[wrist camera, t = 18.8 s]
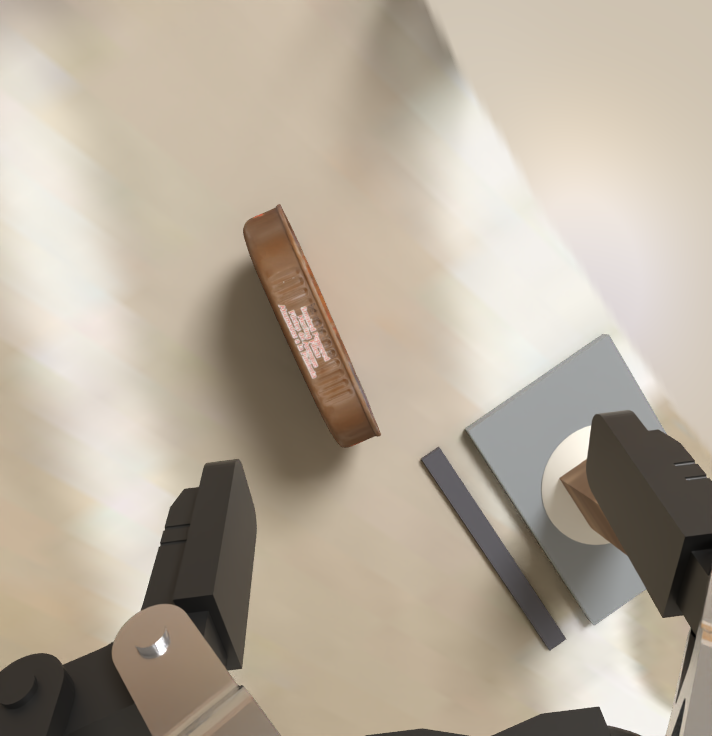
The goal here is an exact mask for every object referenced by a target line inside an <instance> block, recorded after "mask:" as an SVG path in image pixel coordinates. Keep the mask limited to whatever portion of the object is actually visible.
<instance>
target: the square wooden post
mask: <svg viewBox="0 0 712 736" xmlns="http://www.w3.org/2000/svg"><path fill="white" fill-rule="evenodd" d="M586 461H587V459H586V460H584V461H583V462H581V463H580V464H579V465H577V466H576V467H574V468H573V469H571V470H570V471H569V472H567V473H566V474H564V475H563V476H561V477H560V478H559V479H560V480H561V482H562V483H563V485H564V487H565V488H566V490H567V491H568V493H569V494H570V496H571V498H572V499H573V501H574V502H575V504H576V505H577V507H578V509H579V510H580V512H581V513H582V515H583V516H584V518H585V520H586V521H587V523H588V524H589V526H590V527H591V528H592V529H593V530H594V531H595V532H597V533H598V534H599V535H601V536H602V537H603V538H605V539H606V540H607V541H609V542H610V543H611V544H613V545H614V546H615V547H616V548H618V549H619V550H620V551H622V552H623V553H624V554H626V552H625V550H624V549H623V547H622V545H621V543H620V541H619V540H618V538H617V536H616V534H615V533H614V531H613V529H612V527H611V526H610V524H609V522H608V520H607V518H606V517H605V515H604V513H603V511H602V510H601V508H600V506H599V504H598V503H597V501H596V499H595V497H594V495H593V494H592V492H591V489H590V487H589V484H588V480H587V474H586ZM626 555H627V554H626Z"/></svg>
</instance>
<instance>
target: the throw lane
mask: <svg viewBox="0 0 712 736" xmlns="http://www.w3.org/2000/svg"><path fill="white" fill-rule="evenodd" d="M624 410H631V411H633V412H634V413H635V414H636V416H637V417H638V418H639V420H640V421H641V422H642V423H643V425H644V426H645V427H646V429H647V430H648V431H649V430H657V429H659V430H660V431H662V432H664V433H665V434H666V432H665V430H664V428H663V427H662V425H661V423H660V422H659V420H658V418H657V416H656V415H655V413H654V411H653V410H652V408H651V406H650V404H649V403H648V401H647V399H646V398H645V396H644V394H643V392H642V391H641V389H640V387H639V386H638V384H637V382H636V380H635V379H634V377H633V375H632V373H631V372H630V370H629V368H628V367H627V365H626V363H625V361H624V360H623V358H622V356H621V355H620V353H619V351H618V349H617V348H616V346H615V344H614V343H613V341H612V339H611V337H610V336H609V335H607V334H602V335H601V336H599V337H598V338H596V339H595V340H594V341H592V342H591V343H589V344H588V345H586V346H585V347H583V348H582V349H580V350H579V351H577V352H576V353H575V354H573V355H572V356H570V357H569V358H567V359H566V360H564V361H563V362H561V363H560V364H559V365H557V366H556V367H554V368H553V369H551V370H550V371H548V372H547V373H545V374H544V375H542V376H541V377H540V378H538V379H537V380H535V381H534V382H532V383H531V384H529V385H528V386H526V387H525V388H524V389H522V390H521V391H519V392H518V393H516V394H515V395H513V396H512V397H510V398H509V399H507V400H506V401H505V402H503V403H502V404H500V405H499V406H497V407H496V408H494V409H493V410H491V411H490V412H489V413H487V414H486V415H484V416H483V417H481V418H480V419H478V420H477V421H475V422H474V423H472V424H471V425H470V426H468V427H467V428H465V430H466V432H467V433H468V435H469V436H470V438H471V439H472V441H473V442H474V444H475V446H476V447H477V449H478V450H479V452H480V453H481V455H482V456H483V458H484V459H485V461H486V462H487V464H488V466H489V467H490V469H491V470H492V472H493V473H494V475H495V476H496V478H497V479H498V481H499V483H500V484H501V486H502V487H503V489H504V490H505V492H506V493H507V495H508V496H509V498H510V499H511V501H512V503H513V504H514V506H515V507H516V509H517V510H518V512H519V513H520V515H521V516H522V518H523V519H524V521H525V523H526V524H527V526H528V527H529V529H530V530H531V532H532V533H533V535H534V536H535V538H536V539H537V541H538V543H539V544H540V546H541V547H542V549H543V550H544V552H545V553H546V555H547V556H548V558H549V560H550V561H551V563H552V564H553V566H554V567H555V569H556V570H557V572H558V573H559V575H560V576H561V578H562V580H563V581H564V583H565V584H566V586H567V587H568V589H569V590H570V592H571V593H572V595H573V596H574V598H575V600H576V601H577V603H578V604H579V606H580V607H581V609H582V610H583V612H584V613H585V615H586V617H587V618H588V620H589V621H590V622H591V623H592V624H593V625H596V624H597V623H599V622H600V621H601V620H603V619H604V618H606V617H607V616H609V615H610V614H611V613H613V612H614V611H616V610H617V609H619V608H620V607H621V606H623V605H624V604H626V603H627V602H628V601H630V600H631V599H633V598H634V597H636V596H637V595H638V594H640V593H641V592H643V591H644V590H646V588H645V586H644V584H643V582H642V580H641V579H640V577H639V575H638V573H637V572H636V570H635V568H634V566H633V565H632V563H631V561H630V559H629V557H628V556H627V555H626V554H624V553H623V552H622V551H620V550H619V549H618V548H616V547H615V546H614V545H613V544H611V543H610V542H609V541H607V540H606V539H605V538H603V537H602V536H601V535H599V534H598V533H597V532H595V531H594V530H593V529H592V528H591V527H590V526H589V524H588V523H587V521H586V520H585V518H584V516H583V515H582V513H581V512H580V510H579V509H578V507H577V505H576V504H575V502H574V501H573V499H572V498H571V496H570V494H569V493H568V491H567V490H566V488H565V487H564V485H563V483H562V482H561V480H560V479H559V478H560V477H561V476H563V475H564V474H566V473H567V472H569V471H570V470H571V469H573V468H574V467H576V466H577V465H579V464H580V463H581V462H583V461H584V460H586V459H587V454H588V446H589V438H590V431H591V423H592V419H593V416H594V415H595V414H600V413H608V412H616V411H624ZM421 459H422V461H423V462H424V464H425V465H426V467H427V468H428V470H429V471H430V473H431V474H432V476H433V477H434V479H435V480H436V482H437V483H438V485H439V486H440V488H441V489H442V491H443V492H444V494H445V495H446V497H447V498H448V500H449V501H450V503H451V504H452V506H453V507H454V509H455V510H456V512H457V513H458V515H459V516H460V518H461V519H462V521H463V522H464V524H465V525H466V527H467V528H468V530H469V531H470V533H471V534H472V536H473V537H474V539H475V540H476V541H477V543H478V544H479V546H480V547H481V549H482V550H483V552H484V553H485V555H486V556H487V558H488V559H489V561H490V562H491V564H492V565H493V567H494V568H495V570H496V571H497V573H498V574H499V576H500V577H501V579H502V580H503V582H504V583H505V585H506V586H507V588H508V589H509V591H510V592H511V594H512V595H513V597H514V598H515V600H516V601H517V603H518V604H519V606H520V607H521V609H522V610H523V612H524V613H525V615H526V616H527V618H528V619H529V621H530V622H531V624H532V625H533V626H534V628H535V629H536V631H537V632H538V634H539V635H540V637H541V638H542V640H543V641H544V643H545V644H546V646H547V647H548V649H549V650H551V649H553V648H554V647H556V646H557V645H559V644H560V643H561V642H563V641H564V640H566V638H565V637H564V635H563V634H562V632H561V631H560V629H559V628H558V626H557V625H556V623H555V621H554V620H553V618H552V617H551V615H550V614H549V612H548V611H547V609H546V608H545V606H544V605H543V603H542V602H541V600H540V599H539V597H538V596H537V594H536V593H535V591H534V590H533V588H532V587H531V585H530V584H529V582H528V581H527V579H526V578H525V576H524V575H523V573H522V572H521V570H520V569H519V567H518V566H517V564H516V563H515V561H514V560H513V558H512V557H511V555H510V553H509V552H508V550H507V549H506V547H505V546H504V544H503V543H502V541H501V540H500V538H499V537H498V535H497V534H496V532H495V531H494V529H493V528H492V526H491V525H490V523H489V522H488V520H487V519H486V517H485V516H484V514H483V513H482V511H481V510H480V508H479V507H478V505H477V504H476V502H475V501H474V499H473V498H472V496H471V495H470V493H469V492H468V490H467V489H466V487H465V485H464V484H463V482H462V481H461V479H460V478H459V476H458V475H457V473H456V472H455V470H454V469H453V467H452V466H451V464H450V463H449V461H448V460H447V458H446V457H445V455H444V454H443V452H442V451H441V449H440V448H439V447H437V448H436V449H435V450H433V451H432V452H430V453H429V454H427V455H426V456H424V457H423V458H421Z"/></svg>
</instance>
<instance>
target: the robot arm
mask: <svg viewBox="0 0 712 736" xmlns="http://www.w3.org/2000/svg"><path fill="white" fill-rule="evenodd" d="M586 474H587V480H588V484H589V487H590V489H591V492H592V494H593V495H594V497H595V499H596V501H597V503H598V504H599V506H600V508H601V510H602V511H603V513H604V515H605V517H606V518H607V520H608V522H609V524H610V526H611V527H612V529H613V531H614V533H615V534H616V536H617V538H618V540H619V541H620V543H621V545H622V547H623V549H624V550H625V552H626V554H627V556H628V557H629V559H630V561H631V563H632V565H633V566H634V568H635V570H636V572H637V573H638V575H639V577H640V579H641V580H642V582H643V584H644V586H645V588H646V589H647V591H648V593H649V595H650V596H651V598H652V600H653V602H654V604H655V605H656V607H657V609H658V611H659V612H660V614H661V616H662V618H666V617H674V616H682V615H684V617H685V619H686V620H687V622H688V624H689V625H690V631H689V634H688V637H687V642H686V647H685V651H684V656H683V661H682V665H681V670H680V675H679V679H678V684H677V689H676V693H675V698H674V703H673V707H672V712H671V716H670V720H669V724H668V728H667V732H666V735H665V736H712V481H711V480H710V478H707V477H706V474H705V472H704V471H703V470H702V469H701V467H700V466H699V465H698V464H695V460H694V459H693V458H692V457H691V455H690V454H689V453H688V452H687V451H686V449H685V448H684V447H683V446H682V445H681V443H679V442H678V441H676V440H675V439H673V438H671V437H670V436H668V435H667V434H665V433H664V432H662V431H660V430H659V429H657V430H649V431H648V430H647V429H646V427H645V426H644V425H643V423H642V422H641V421H640V420H639V418H638V417H637V416H636V414H635V413H634V412H633V411H631V410H624V411H616V412H608V413H600V414H595V415H594V416H593V419H592V423H591V431H590V438H589V446H588V454H587V461H586ZM256 533H257V524H256V514H255V508H254V504H253V501H252V497H251V494H250V490H249V487H248V484H247V480H246V477H245V473H244V470H243V466H242V464H241V461H240V460H239V459H234V460H227V461H219V462H211V463H206V464H205V466H204V468H203V473H202V477H201V481H200V485H199V487H196V488H188V489H184V490H183V491H182V493H181V494H180V495H179V497H178V498H177V499H176V500H175V502H174V503H173V504H172V506H171V507H170V510H169V514H168V517H167V521H166V524H165V531H163V535H162V538H161V542H160V544H161V546H160V547H159V549H158V552H157V556H156V560H155V563H154V567H153V570H152V574H151V577H150V581H149V584H148V588H147V591H146V595H145V599H144V602H143V605H142V608H141V611H140V612H138V613H137V614H135V615H134V616H133V617H131V618H130V619H129V620H128V621H127V622H126V623H125V624H124V625H123V627H122V628H121V629H120V631H119V632H118V634H117V635H116V638H115V640H114V642H112V643H111V644H109V645H107V646H105V647H103V648H101V649H99V650H97V651H94V652H92V653H90V654H87V655H85V656H83V657H80V658H78V659H76V660H73V661H71V662H68V663H66V664H64V665H62V663H61V662H60V661H59V660H58V659H57V658H56V657H54V656H53V655H50V654H44V653H39V654H32V655H29V656H26V657H23V658H21V659H19V660H17V661H15V662H13V663H11V664H10V665H8V666H7V667H6V668H4V669H3V670H2V671H1V672H0V736H281V735H280V734H279V732H278V731H277V730H276V728H275V727H274V725H273V724H272V723H271V721H270V720H269V719H268V717H267V716H266V714H265V713H264V712H263V710H262V709H261V708H260V706H259V705H258V703H257V702H256V701H255V699H254V698H253V697H252V695H251V694H250V693H249V691H248V690H247V689H246V688H245V687H244V686H242V685H241V686H239V685H238V684H237V683H236V682H235V680H234V679H233V678H232V676H231V675H230V673H229V672H228V670H236V669H242V664H243V655H244V645H245V636H246V627H247V617H248V608H249V599H250V589H251V580H252V571H253V561H254V552H255V543H256ZM366 736H467V735H461V734H454V733H448V732H441V731H435V730H428V729H415V730H407V731H398V732H390V733H382V734H374V735H366ZM492 736H641V735H638V734H636V733H633V732H631V731H627V730H624V729H620V728H617V727H612V726H607V724H606V722H605V720H604V717H603V715H602V712H601V710H600V707H592V708H584V709H576V710H568V711H560V712H552V713H544V714H540V715H538V716H535V717H533V718H531V719H529V720H526V721H524V722H522V723H519V724H517V725H515V726H513V727H510V728H508V729H506V730H504V731H501V732H499V733H497V734H495V735H492Z"/></svg>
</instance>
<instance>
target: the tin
mask: <svg viewBox="0 0 712 736" xmlns="http://www.w3.org/2000/svg"><path fill="white" fill-rule="evenodd" d="M243 234H244V238H245V242H246V245H247V248H248V251H249V254H250V257H251V259H252V262H253V264H254V267H255V269H256V272H257V274H258V276H259V279H260V281H261V284H262V286H263V288H264V291H265V293H266V295H267V297H268V300H269V302H270V304H271V306H272V308H273V311H274V313H275V315H276V318H277V320H278V322H279V324H280V326H281V329H282V331H283V333H284V336H285V338H286V340H287V342H288V345H289V347H290V349H291V351H292V353H293V355H294V358H295V360H296V362H297V364H298V366H299V369H300V371H301V373H302V375H303V377H304V379H305V382H306V384H307V386H308V388H309V390H310V392H311V394H312V396H313V398H314V401H315V403H316V405H317V407H318V409H319V411H320V413H321V415H322V417H323V419H324V421H325V423H326V425H327V427H328V429H329V431H330V432H331V434H332V435H333V437H334V439H335V440H336V441H337V443H338V444H339V445H340V446H341V447H350V446H353V445H356V444H358V443H360V442H363V441H365V440H367V439H369V438H372V437H374V436H380V435H381V433H380V431H379V428H378V426H377V423H376V421H375V418H374V416H373V413H372V411H371V408H370V405H369V403H368V400H367V397H366V395H365V393H364V390H363V388H362V386H361V383H360V381H359V379H358V377H357V375H356V373H355V370H354V368H353V365H352V363H351V361H350V358H349V356H348V354H347V351H346V349H345V347H344V344H343V342H342V340H341V338H340V335H339V333H338V331H337V329H336V326H335V324H334V321H333V319H332V317H331V315H330V312H329V310H328V308H327V306H326V303H325V301H324V298H323V296H322V294H321V292H320V289H319V287H318V285H317V282H316V280H315V278H314V276H313V273H312V271H311V269H310V266H309V264H308V262H307V260H306V258H305V256H304V254H303V251H302V249H301V246H300V244H299V242H298V240H297V238H296V236H295V234H294V231H293V230H292V227H291V225H290V223H289V221H288V219H287V217H286V215H285V213H284V211H283V209H282V207H281V205H280V204H279V205H277V206H276V208H274V209H272V210H270V211H267V212H265V213H263V214H260V215H258V216H255V217H253V218H251V219H250V220H248V221H247V222H246V223H245V225H244V228H243Z"/></svg>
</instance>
